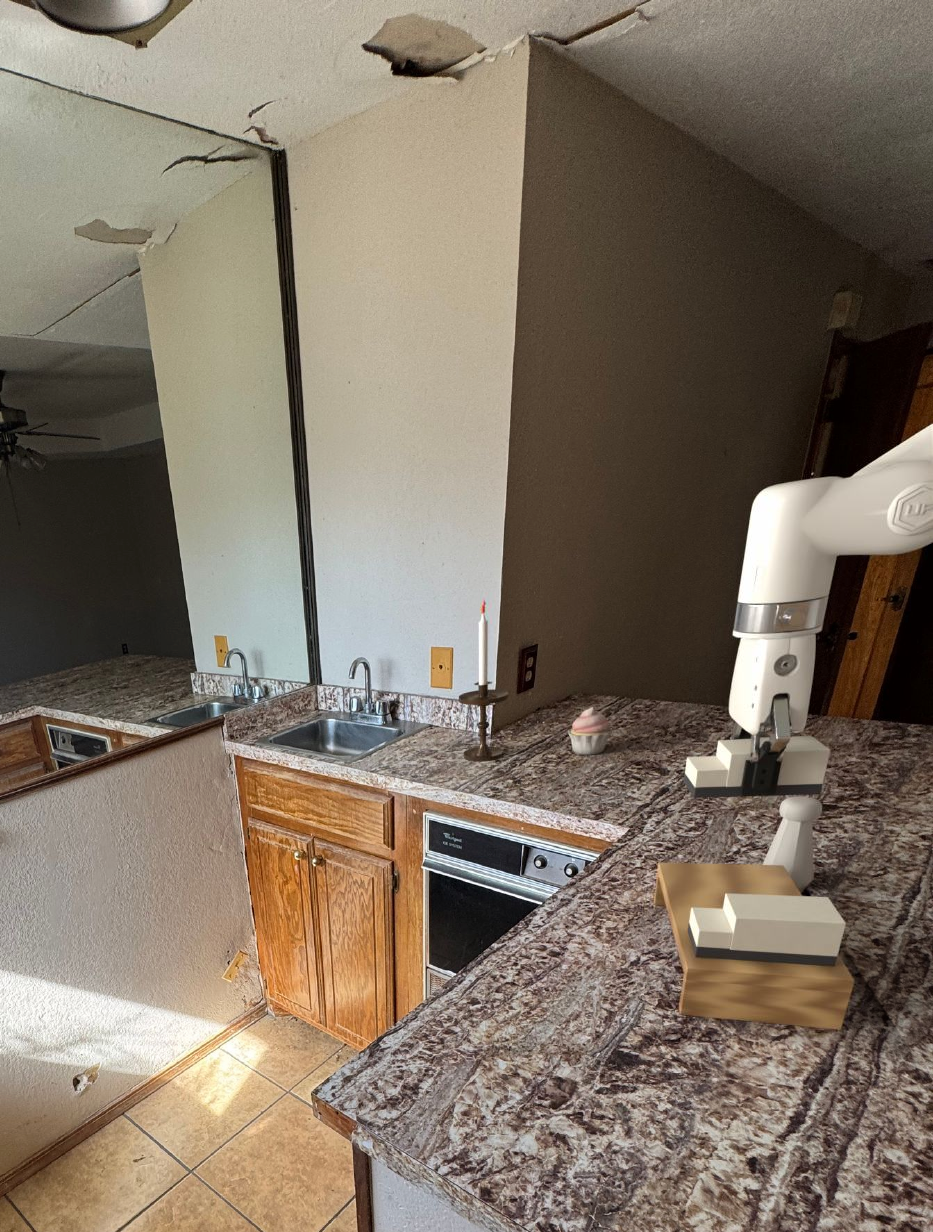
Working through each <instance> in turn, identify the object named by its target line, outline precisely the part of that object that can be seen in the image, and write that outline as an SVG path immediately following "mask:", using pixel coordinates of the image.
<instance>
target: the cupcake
mask: <svg viewBox="0 0 933 1232" xmlns="http://www.w3.org/2000/svg"><path fill="white" fill-rule="evenodd" d="M613 732H614V729H612V727H611V722H610V721H609V720H608V719H606V716H605V714H602V713H601V712H599V711H597V710H596V709H595V708H594V706H592V707H590V708H587V709H585V710H584V711H582V713H580V715H579V716H578V717H577V718H576V719H575V720H574V721H573V722H572V727H571V728H570V729H568V730H567V733H568V736H569V738H570V741H571V747H572V751H573V753H575V754H576V755H577V754H578V755H584V756H591V755H596V754H601V753H602V752H604V750H605V748H606V744H607V742H608V740H609V737H610V736H611V735H612V734H613Z"/></svg>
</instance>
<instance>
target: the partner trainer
mask: <svg viewBox="0 0 933 1232" xmlns="http://www.w3.org/2000/svg"><path fill="white" fill-rule="evenodd" d="M846 925H847V923H846V921H845V920H844V918H843V917H842V915H841V914H840V912H839V911H838V910H837V908H836V907H835V905H834V903H833V902H832V900H831V899H830V898H829V897H828V896H810V895H809V896H807V895H802V896H783V895H756V894H729V893H726V894H725V900H724V905H723V909H718V908H695V907H692V908H691V913H690V920H689V924H688V934H689V938H690V941H691V944H692V948H693V951H694V954H695V957H701V958H716V959H730V960H745V961H760V962H775V963H789V964H804V965H819V966H835V962H836V959H837V956H838V954H839V952H840V947H841V945H842V941H843V937H844V934H845V930H846Z"/></svg>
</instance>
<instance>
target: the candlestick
mask: <svg viewBox="0 0 933 1232" xmlns="http://www.w3.org/2000/svg"><path fill="white" fill-rule="evenodd" d="M486 603H487V602H486V601H485V599H483V600H482V605H481V609H480V611H481V618H480V620H479V621H478V682H477V681H476V682H475V683H474V684H473V685H474V686H478V689H477V690H472V691H467V692H463V693H462V694H459V696H458V703H460V704H462V705H465V706H466V705H469V706H477V707H479V721H478V722H477V724H476V727H477V729H479V733H478V734H477V737H479V741H480V742H479V745H478V746H477V747H476V746H475V747H472V748H469V749H466V750H465V751H463V759H464V760H466V761H470V762H490V761H491V762H492V761H495V760H500V758H503V757H504V749H502V748H500V747H496V746H488V744H487V737H489V733H488V731H487V729H488V728H489V727H490V723H489V722H488V721H487V707H489V706H490V705H492V704H498V703H501V702H504V701H506V700H508V699H509V692H508V691H507V690H503V689H489V685H491V684H493V681H490V680H489V681H488V667H489V666H488V661H489V660H488V658H489V657H488V656H489V655H488V653H489V651H488V650H489V647H488V646H489V645H488V644H489V643H488V640H489V639H488V635H489V633H488V632H489V631H488V630H489V629H488V628H489V627H488V626H489V625H488V623H489V621H488V620H487V619H486V616H485V613H486V607H485V606H486Z"/></svg>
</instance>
